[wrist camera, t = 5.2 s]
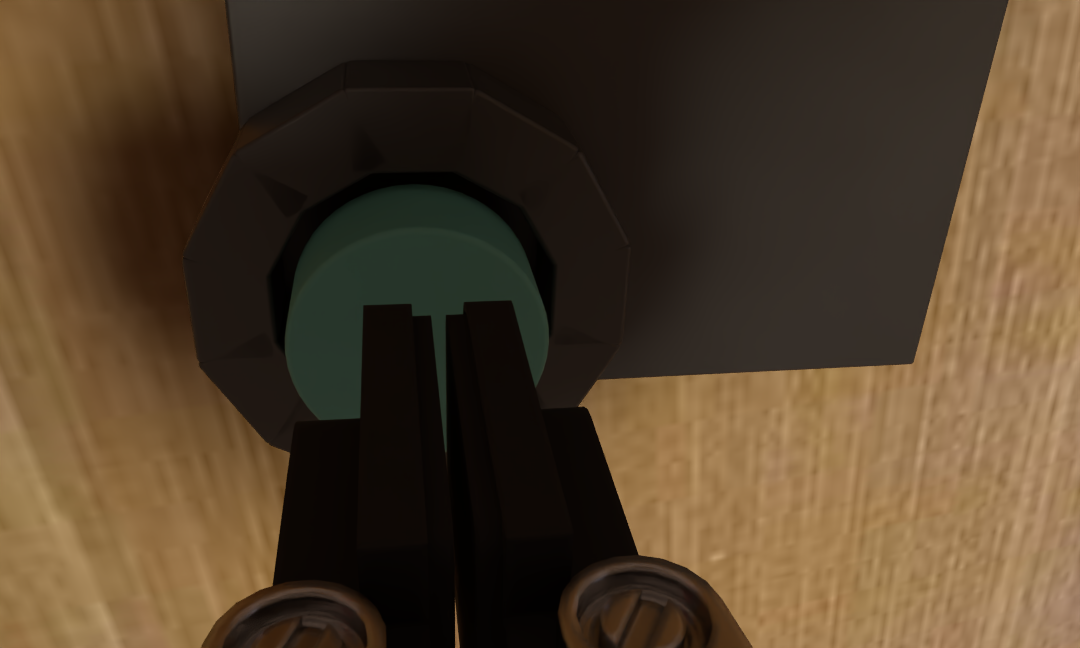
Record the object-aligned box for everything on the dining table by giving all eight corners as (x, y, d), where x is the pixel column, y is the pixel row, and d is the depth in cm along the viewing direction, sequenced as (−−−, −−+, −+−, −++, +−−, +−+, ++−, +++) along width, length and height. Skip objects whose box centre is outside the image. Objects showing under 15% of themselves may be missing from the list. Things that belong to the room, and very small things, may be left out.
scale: (93, -704, 11) (4, -870, 8) (1097, -582, 13) (1285, -685, 10) (239, 393, 18) (216, 493, 15) (872, 361, 20) (949, 446, 17)
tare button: (283, 183, 13) (271, 232, 12) (535, 180, 14) (556, 225, 12) (303, 399, 15) (295, 465, 13) (527, 388, 16) (544, 451, 14)
